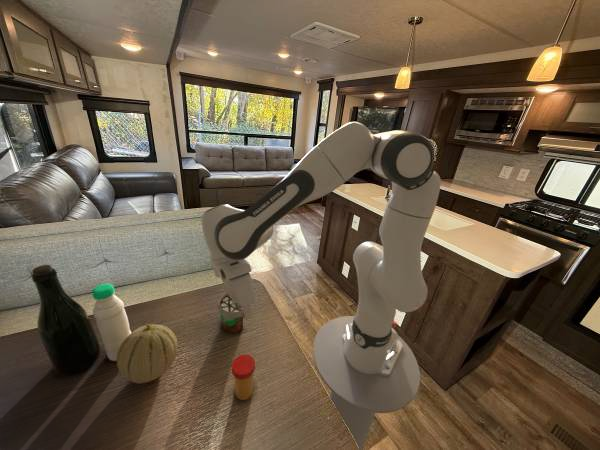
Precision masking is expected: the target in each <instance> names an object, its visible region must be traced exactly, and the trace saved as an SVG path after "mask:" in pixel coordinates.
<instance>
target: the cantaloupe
mask: <svg viewBox="0 0 600 450" xmlns="http://www.w3.org/2000/svg"><path fill="white" fill-rule="evenodd" d="M178 349H179V343H178V339H177V336H176V334H175V333H174V332H173V331H172V330H171V329H170V327H168V326H166V325H162V324H155V323H153V324H149V323H146V324H145V325H143V326H139V327H138V328H136V329H134V330H133V331H131V334H130V335H129V336H128V337H126V339H125V340H124V341H123V342H122V344H121V346H120V347H119V350H118V353H117V358H116V359H117V361H116V366H117V369H118V372H119V374H120V375H121V377H122V378H123V379H124V380H127V381H129V382H132V383H135V384H145V383H146V384H147V383H149V382H152V381H154V380H157V379H158V378H160V377H161V376H163V374H165V373H166V372H167V371H168V370H169V369H170V368H171V366H172V365H173V363H174V361H175V359H176V356H177V353H178Z"/></svg>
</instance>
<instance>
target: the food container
mask: <svg viewBox="0 0 600 450" xmlns="http://www.w3.org/2000/svg"><path fill="white" fill-rule="evenodd" d="M217 312H218V313H219V314H220V318H221V323H222V328H223V330H225V331H227V332H228V333H237V332H238V333H239V332H241V331H243V329H244V315H243V310H242V308H239V309H236V308H235V305H234V302H233V300H232V298H231V296H230V295H229V294H228V293H227V292H226V293H224V294H223V295H222V296H221V297H220V299H219V301H218V304H217Z"/></svg>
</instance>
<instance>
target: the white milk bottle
mask: <svg viewBox="0 0 600 450" xmlns="http://www.w3.org/2000/svg"><path fill="white" fill-rule="evenodd" d="M115 293H116V292H115V287H114V285H113V284H111V283H102V284H99V285H97V286H95V287H94V288H93V289H92V291H91V295H92V297H93V299H94V300H95V303H94V307H93V309H92V315H93V317H94V319H95V323H96V326H97V330H98V333H99V335H100V338H101V340H102V344H103V347H104V349H105V353H106V356H107V359H108V360H110V361H112V362H117V359H116V358H117V353H118V350H119V347H120V346H121V344H122V342H123V341H124V340H125V339H126V337H128V336H129V335H130V334H131V333H132V331H131V329H130V322H129V318H128V315H127V312H126V309H125V304H124V301H123V300H122V299H121V298H119V297H118V296H117V295H116V294H115Z"/></svg>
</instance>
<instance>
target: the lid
mask: <svg viewBox="0 0 600 450" xmlns="http://www.w3.org/2000/svg"><path fill="white" fill-rule="evenodd" d="M255 370H256V360H255V358H254V357H253V356H252V355H250V354H245V353H244V354H240V355H238V356H236V357H235V358H234V359H233V361H232V363H231V373H232V375H233V378H234V379H235V378H237V379H240V380H243V379H247V378H249V377H250V376H251V375H252V374H253V375H254V374H255Z"/></svg>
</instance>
